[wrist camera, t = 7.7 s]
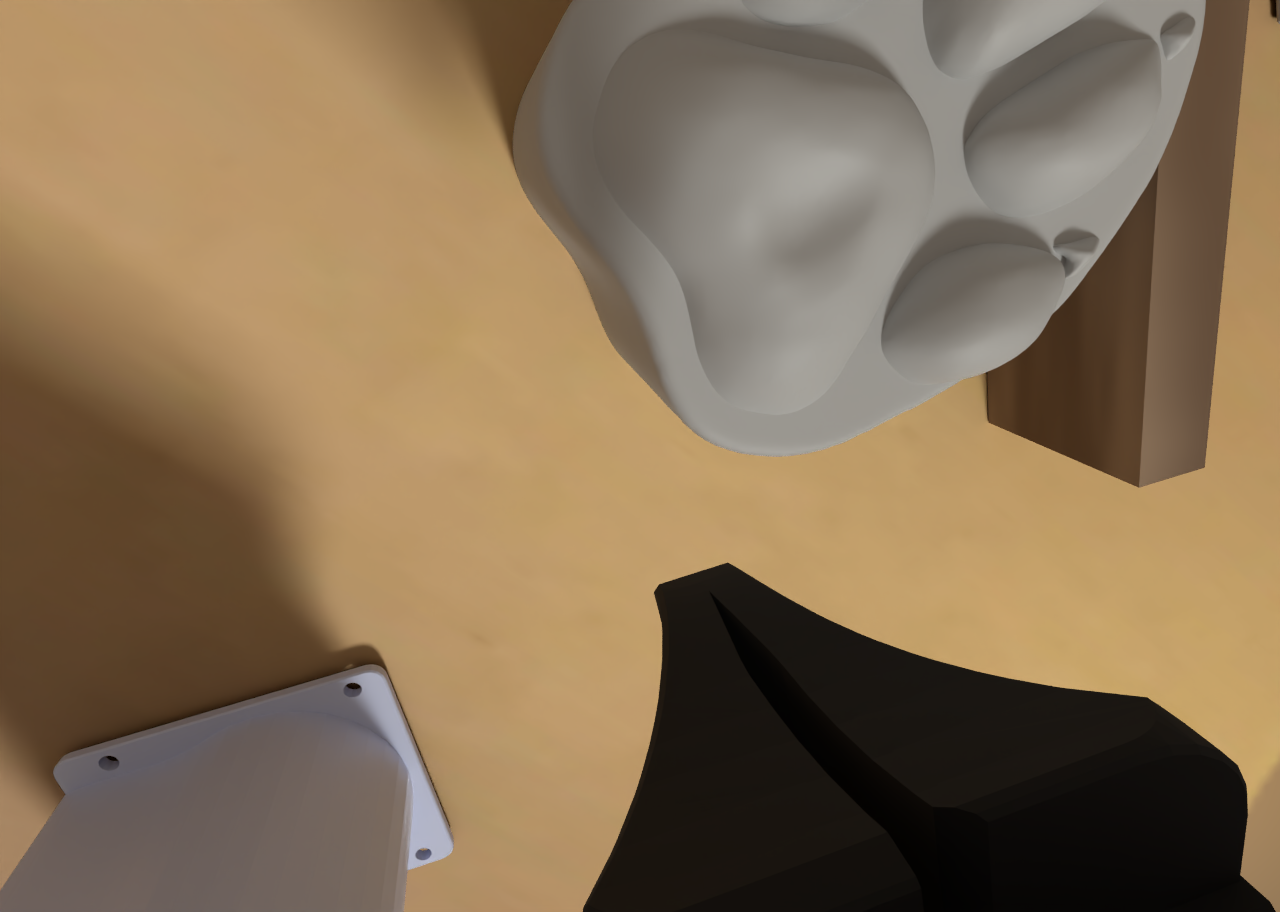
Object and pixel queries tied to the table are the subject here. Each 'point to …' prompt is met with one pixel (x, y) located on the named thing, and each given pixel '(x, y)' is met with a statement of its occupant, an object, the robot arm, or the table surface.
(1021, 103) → the lumpy-topped squat cylinder
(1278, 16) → the ink box
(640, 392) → the table surface
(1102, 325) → the walnut board
